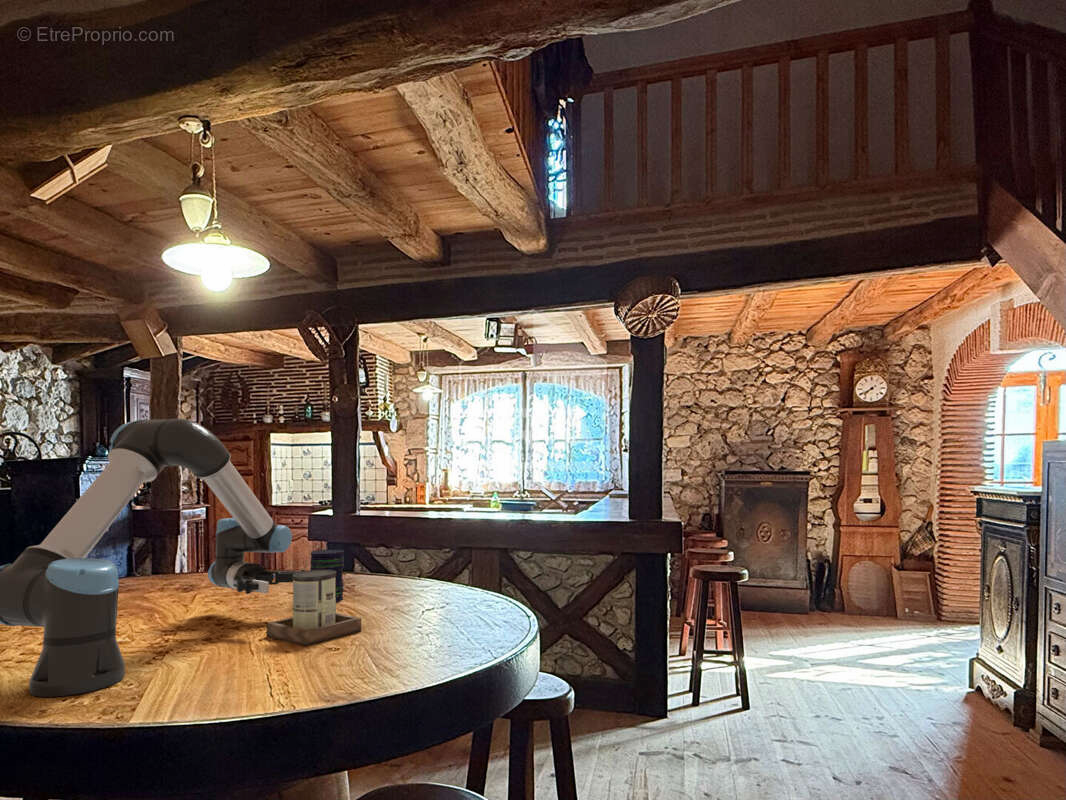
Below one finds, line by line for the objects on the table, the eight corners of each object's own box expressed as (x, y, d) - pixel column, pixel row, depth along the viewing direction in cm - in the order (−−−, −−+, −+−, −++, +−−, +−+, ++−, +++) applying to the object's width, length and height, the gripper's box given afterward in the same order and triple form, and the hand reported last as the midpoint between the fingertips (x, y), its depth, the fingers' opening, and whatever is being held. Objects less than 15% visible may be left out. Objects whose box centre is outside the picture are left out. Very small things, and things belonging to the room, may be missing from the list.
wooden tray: (361, 631, 161) (361, 618, 162) (305, 646, 149) (305, 632, 149) (322, 622, 171) (322, 610, 171) (266, 636, 158) (266, 623, 158)
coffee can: (299, 626, 165) (300, 570, 166) (340, 625, 165) (341, 569, 166) (285, 637, 154) (286, 577, 156) (329, 636, 155) (329, 576, 156)
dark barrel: (315, 605, 192) (316, 554, 194) (305, 600, 200) (306, 551, 201) (348, 601, 198) (348, 551, 199) (337, 596, 206) (337, 548, 207)
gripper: (287, 583, 189) (332, 591, 176) (201, 598, 169) (245, 607, 157) (288, 557, 190) (333, 562, 177) (202, 568, 170) (246, 575, 157)
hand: (291, 583), depth 167 cm, fingers open, 13 cm apart
